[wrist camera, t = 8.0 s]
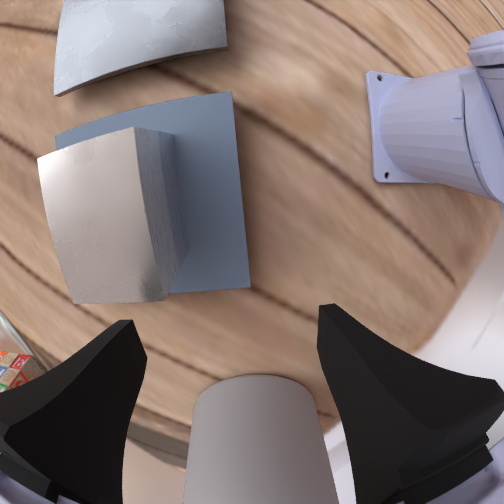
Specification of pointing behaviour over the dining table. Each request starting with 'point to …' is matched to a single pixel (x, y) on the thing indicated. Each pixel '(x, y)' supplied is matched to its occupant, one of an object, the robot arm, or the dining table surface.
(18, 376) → the stack of blocks
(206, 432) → the cylinder vase
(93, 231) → the block
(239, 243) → the stand
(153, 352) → the dining table surface
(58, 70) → the stand
